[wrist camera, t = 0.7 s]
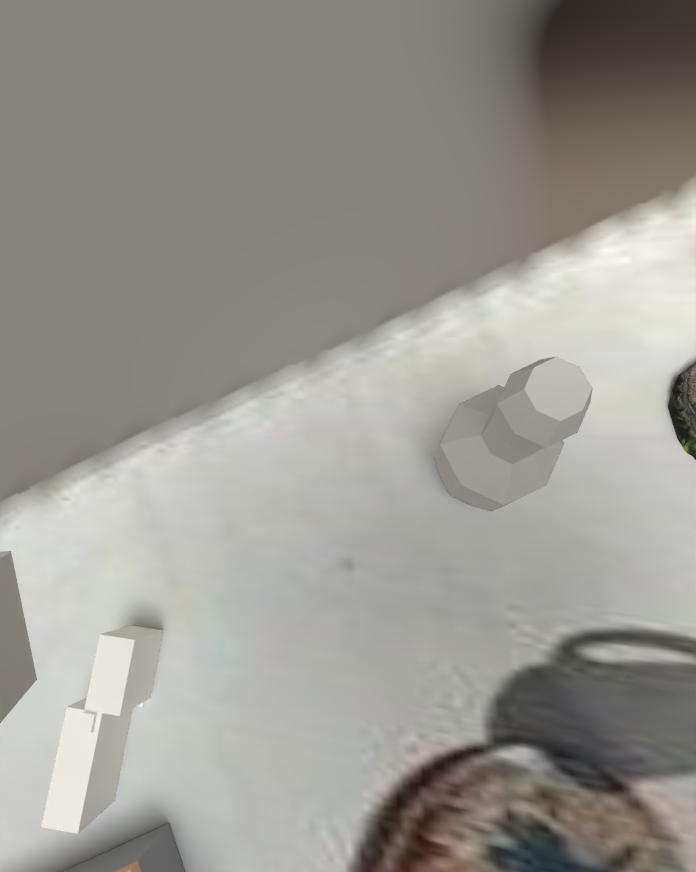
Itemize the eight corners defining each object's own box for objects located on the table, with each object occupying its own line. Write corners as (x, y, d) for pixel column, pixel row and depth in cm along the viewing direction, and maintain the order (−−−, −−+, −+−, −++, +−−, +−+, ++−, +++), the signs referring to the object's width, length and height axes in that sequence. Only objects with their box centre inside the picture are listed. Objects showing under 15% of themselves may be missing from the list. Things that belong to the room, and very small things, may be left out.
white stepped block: (104, 850, 40) (57, 898, 34) (7, 718, 42) (-51, 743, 36) (265, 690, 41) (245, 711, 36) (163, 571, 43) (130, 573, 38)
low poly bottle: (474, 534, 42) (566, 512, 20) (410, 473, 43) (434, 390, 22) (534, 472, 42) (685, 386, 21) (469, 413, 44) (550, 275, 22)
